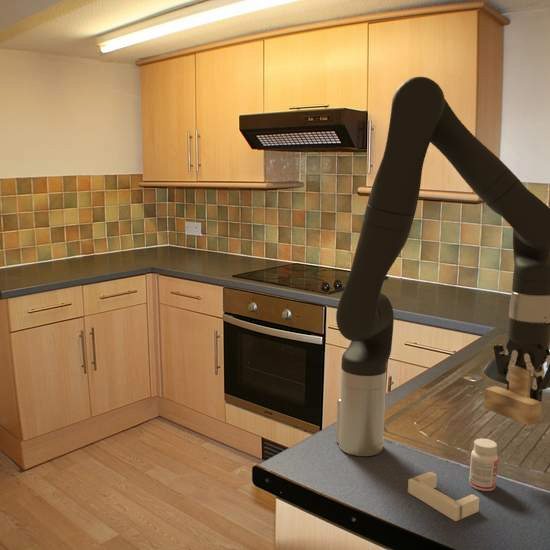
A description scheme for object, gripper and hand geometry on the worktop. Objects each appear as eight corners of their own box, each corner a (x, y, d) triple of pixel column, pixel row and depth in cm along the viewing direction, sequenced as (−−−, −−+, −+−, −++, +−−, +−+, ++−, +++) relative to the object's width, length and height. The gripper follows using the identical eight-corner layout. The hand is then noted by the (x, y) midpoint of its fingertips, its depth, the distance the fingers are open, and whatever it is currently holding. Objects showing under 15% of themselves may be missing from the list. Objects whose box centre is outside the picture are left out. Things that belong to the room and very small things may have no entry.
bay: (407, 492, 110) (408, 479, 109) (430, 483, 113) (430, 471, 112) (455, 521, 101) (456, 507, 100) (478, 511, 104) (479, 498, 103)
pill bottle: (498, 493, 110) (501, 449, 108) (470, 490, 111) (474, 447, 109) (493, 480, 115) (496, 438, 113) (467, 477, 115) (470, 436, 114)
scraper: (484, 408, 118) (487, 363, 116) (506, 401, 121) (510, 358, 120) (529, 426, 109) (533, 378, 108) (552, 418, 113) (556, 371, 112)
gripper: (485, 311, 117) (479, 395, 120) (553, 326, 105) (545, 420, 108) (510, 306, 121) (504, 388, 124) (578, 321, 109) (569, 411, 112)
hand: (523, 402), depth 116 cm, fingers closed on scraper, 4 cm apart
